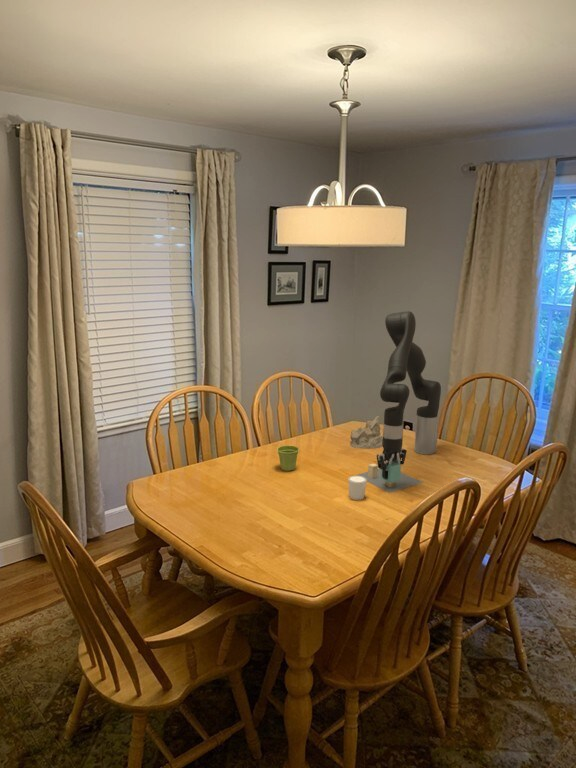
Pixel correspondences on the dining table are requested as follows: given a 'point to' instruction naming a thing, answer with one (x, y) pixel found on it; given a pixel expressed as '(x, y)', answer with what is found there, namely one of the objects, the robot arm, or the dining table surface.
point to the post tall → (390, 484)
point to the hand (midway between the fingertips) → (390, 477)
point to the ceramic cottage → (367, 435)
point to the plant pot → (288, 457)
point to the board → (375, 479)
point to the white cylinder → (357, 487)
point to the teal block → (393, 472)
